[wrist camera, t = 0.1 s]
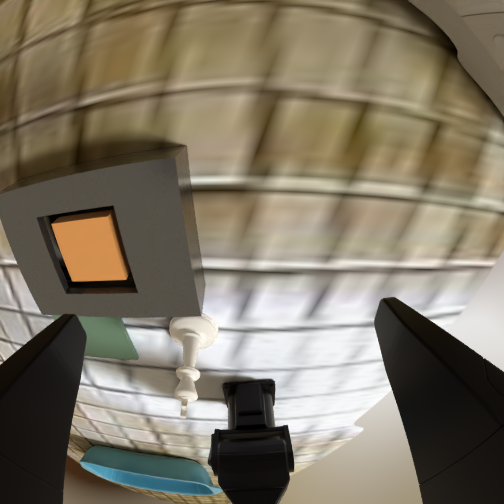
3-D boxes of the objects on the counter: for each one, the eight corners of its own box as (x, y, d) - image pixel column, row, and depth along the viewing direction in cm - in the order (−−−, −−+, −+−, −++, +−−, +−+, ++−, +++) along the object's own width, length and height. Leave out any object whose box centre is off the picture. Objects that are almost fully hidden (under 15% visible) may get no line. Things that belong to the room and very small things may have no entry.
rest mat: (138, 355, 30) (137, 359, 29) (77, 351, 30) (75, 354, 29) (112, 296, 25) (110, 300, 25) (46, 296, 25) (44, 299, 25)
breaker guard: (205, 284, 25) (201, 316, 21) (58, 289, 25) (42, 314, 21) (186, 145, 19) (175, 157, 15) (20, 179, 18) (-7, 196, 15)
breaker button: (130, 270, 21) (126, 279, 20) (78, 273, 21) (72, 281, 20) (114, 209, 18) (107, 216, 17) (58, 217, 18) (51, 224, 17)
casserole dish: (105, 462, 59) (102, 481, 53) (68, 432, 47) (62, 456, 41) (226, 476, 60) (226, 497, 54) (216, 453, 49) (216, 482, 42)
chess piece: (221, 315, 27) (218, 407, 18) (214, 347, 29) (211, 431, 21) (170, 307, 26) (150, 397, 18) (169, 340, 29) (154, 423, 20)
